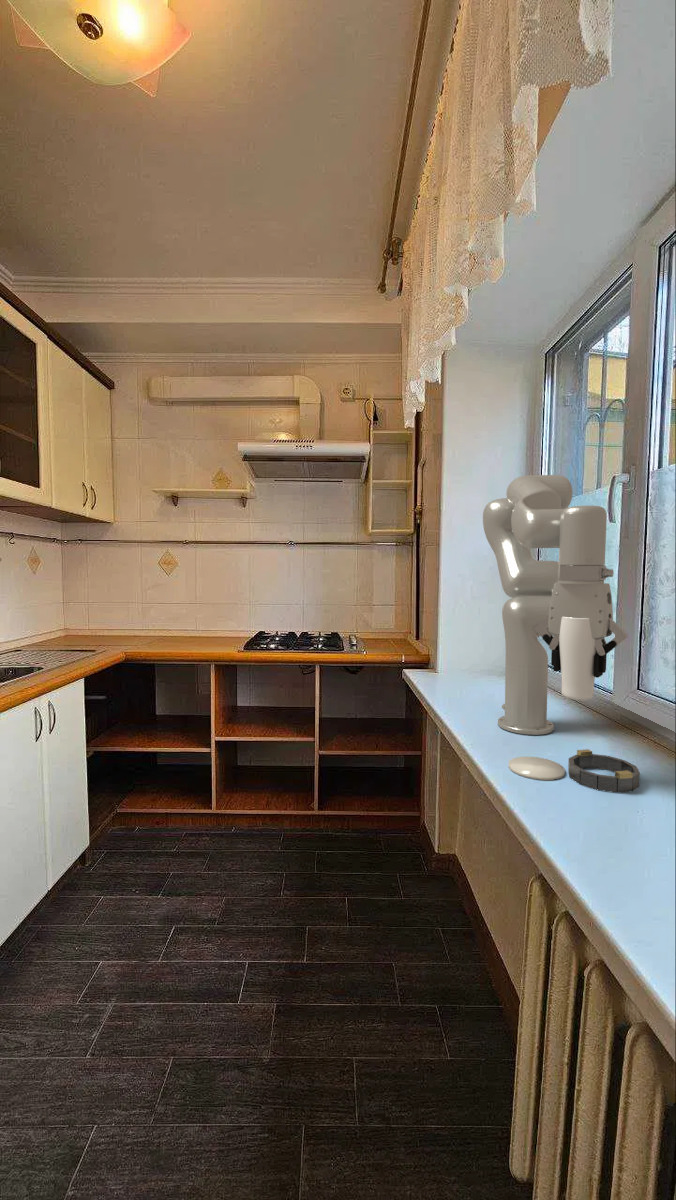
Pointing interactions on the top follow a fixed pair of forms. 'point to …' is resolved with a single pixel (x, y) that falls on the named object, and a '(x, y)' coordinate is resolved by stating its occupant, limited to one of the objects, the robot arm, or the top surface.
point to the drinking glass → (577, 658)
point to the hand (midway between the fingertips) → (577, 672)
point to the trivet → (536, 768)
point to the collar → (622, 782)
